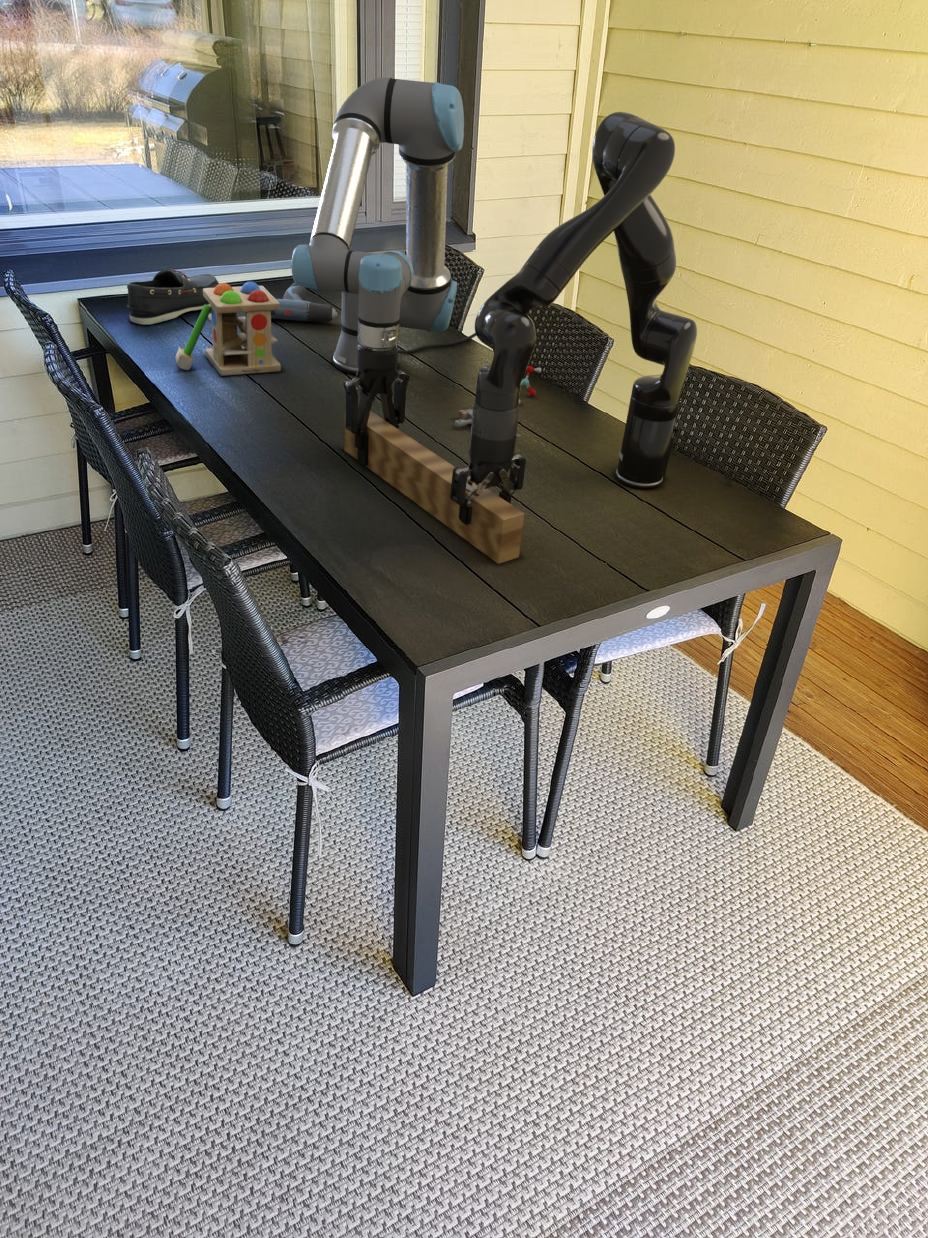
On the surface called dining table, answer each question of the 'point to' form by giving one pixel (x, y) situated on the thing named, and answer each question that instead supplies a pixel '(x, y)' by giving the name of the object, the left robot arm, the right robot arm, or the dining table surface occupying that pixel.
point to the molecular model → (526, 382)
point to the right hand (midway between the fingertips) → (484, 517)
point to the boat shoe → (167, 296)
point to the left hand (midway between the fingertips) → (374, 460)
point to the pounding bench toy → (229, 347)
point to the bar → (439, 489)
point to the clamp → (468, 419)
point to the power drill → (301, 307)
